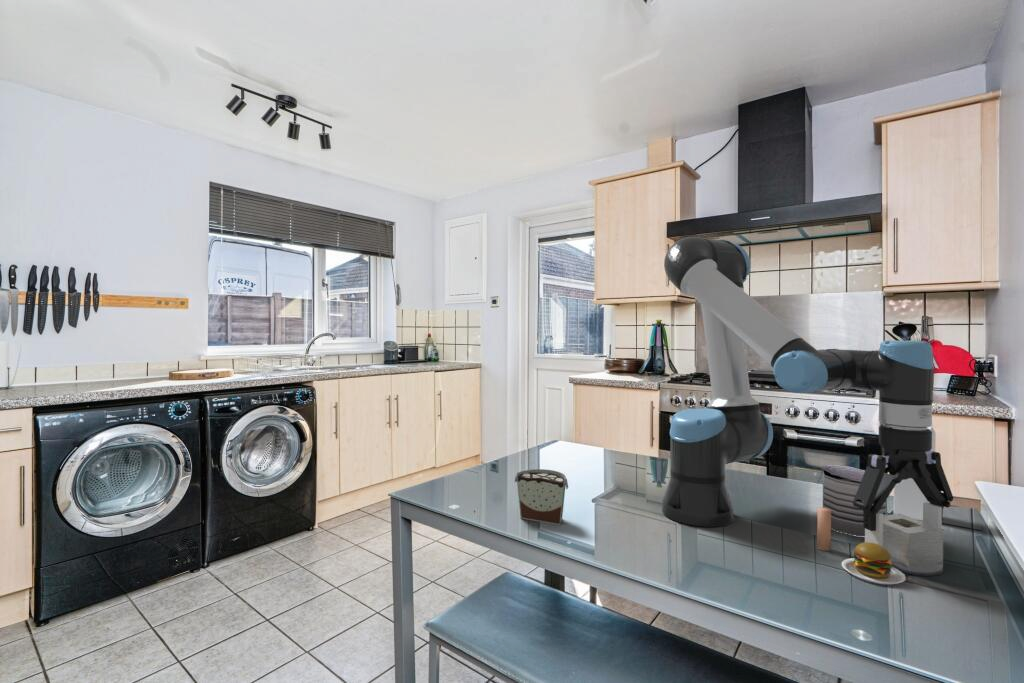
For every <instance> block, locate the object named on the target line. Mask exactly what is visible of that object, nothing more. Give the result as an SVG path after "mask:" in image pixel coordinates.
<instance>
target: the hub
mask: <svg viewBox="0 0 1024 683" xmlns="http://www.w3.org/2000/svg"><path fill="white" fill-rule="evenodd" d="M903 527H904V526H903ZM906 528H908V527H906ZM891 563H892V565H891V566H892V567H894V568H896V569H898V570H899V571H901V572H903V574H906V573H907V575H911V574H912V575H911V576H920V577H934V576H940V575H942V574H943V572H944V562H943V563H942V564H934V565H927V566H920V567H913V568H907V567H905V566H903V565H901V564H898V563H896V562H894V561H892V560H891Z"/></svg>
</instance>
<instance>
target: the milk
mask: <svg viewBox="0 0 1024 683" xmlns="http://www.w3.org/2000/svg"><path fill="white" fill-rule="evenodd" d="M927 429H930V430H931V431H932V449H931V450H930V451H934V452H936V434H937V433H936V432H937V431H935V429H934V427H933V425H932V426H930V427H927ZM923 502H927V503H930V502H928V501H927V499H926V498H925V496H924V495H923V493H922V492H921V490H920V489H919V487H918V486H917V484H916V483H915V481H914V480H913V479H912V478H908V479H906V480H902V481H901V482H900V483H897V484H896V485H895V487H894V488H893V514H903V515H905V516H908V517H911V518H914V519H916V520H919V521H922V522H923Z"/></svg>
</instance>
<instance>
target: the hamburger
mask: <svg viewBox="0 0 1024 683" xmlns="http://www.w3.org/2000/svg"><path fill="white" fill-rule="evenodd" d="M891 565H892V563H891V560H890V554H889V552H888V551H887V550H886V549H885V548H884V547H882V546H880V545H878V544H875V543H871V542H865V541H864V542H861V543H858V544H857V545H856V546H855V548H854V550H853V557H852V558H846V559H844V560H842V562H841V567H842V568H843V569H845V571H847V572H848V573H849V574H851V575H852V576H854V577H855V578H858V579H860V580H862V581H866V582H869V583H873V584H877V585H885V586H886V585H887V586H892V585H893V586H894V585H896V584H901V583H902V584H903V583H904V582H905V581H906V578H907V577H906V576H905V573H902V572H901V571H899V570H898V569H896V568H894V567H892V566H891ZM891 571H892V572H893V573H890V572H891Z"/></svg>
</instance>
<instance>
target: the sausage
mask: <svg viewBox="0 0 1024 683" xmlns="http://www.w3.org/2000/svg"><path fill="white" fill-rule="evenodd" d="M816 517H817V525H816V527H817V528H816V529H817V530H816V532H817V533H816V535H817V536H816V540H817V541H816V542H817V543H816V548H817V547H818V548H820V549H823V550H830V549H831V548H832V545H831V544H832V541H831V540H832V529H831V510H830V509H827V508H823V507H818V508H817V516H816ZM818 548H817V549H818ZM820 549H819V550H820ZM823 550H822V551H823ZM830 551H831V550H830Z"/></svg>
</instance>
